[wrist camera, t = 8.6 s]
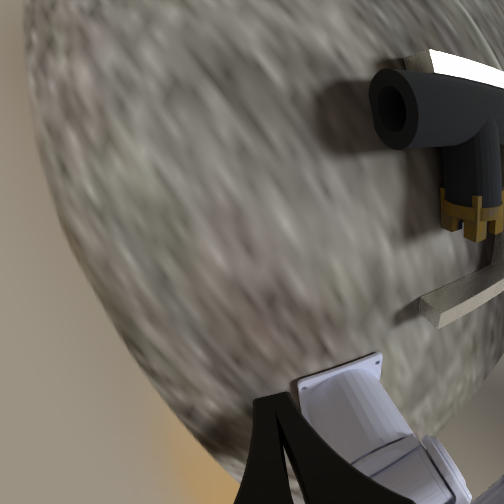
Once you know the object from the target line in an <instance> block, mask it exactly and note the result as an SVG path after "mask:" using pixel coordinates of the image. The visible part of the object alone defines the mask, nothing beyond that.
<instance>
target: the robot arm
mask: <svg viewBox="0 0 504 504" xmlns="http://www.w3.org/2000/svg"><path fill="white" fill-rule="evenodd" d="M382 357H383V356H382V354H381V353H380V352H377V353H374V354H372V355H369V356H367V357H364V358H362V359H359V360H356V361H354V362H351V363H348V364H345V365H342V366H340V367H337V368H334V369H331V370H328V371H325V372H322V373H319V374H315V375H312V376H309V377H306V378H302V379H300V380H299V381H298V382H297V387H298V394H299V400H300V407H301V412H300V411H299V409H298V408H297V406H296V404H295V403H294V401H293V399H292V398H291V396H290V393H289V392H282V393H278V394H274V395H270V396H266V397H261V398H257V399H254V400H253V430H252V437H251V444H250V450H249V455H248V459H247V464H246V468H245V472H244V475H243V479H242V482H241V485H240V488H239V491H238V493H237V496H236V499H235V501H234V504H294V503H293V499H292V496H291V491H290V486H289V480H288V474H287V468H286V461H285V455H284V449H283V446H284V448H285V451H286V454H287V456H288V459H289V461H290V464H291V466H292V469H293V471H294V474H295V476H296V478H297V481H298V483H299V486H300V489H301V491H302V494H303V498H304V501H305V504H504V475H502V476H501V477H500V478H499V479H498V480H497V481H496V482H495V483H494V484H492V486H490V487H489V488H488V489H487V490H486V491H485V492H484V493H483V494H481V495H480V496H479V497H478V498H476V499H475V500H474V501H473V502H470V501H471V499H472V496H471V494H470V492H469V490H468V489H467V487H466V482H465V480H464V478H463V476H462V474H461V473H460V471H459V469H458V468H457V466H456V465H455V463H454V462H453V460H452V459H451V457H450V456H449V454H448V453H447V451H446V450H445V448H444V447H443V445H442V444H441V442H440V441H439V440H438V439H437V437H435V436H430V437H429V436H425V437H423V438H422V439H421V441H422V442H423V444H424V446H425V447H426V449H425V448H424V446H423V445H422V443H421V442H420V441H419V439H418V438H417V437H416V436H415V434H414V433H413V432H412V430H411V429H410V427H409V426H408V424H407V423H406V421H405V420H404V418H403V417H402V415H401V414H400V412H399V411H398V409H397V407H396V406H395V404H394V403H393V401H392V400H391V398H390V397H389V395H388V394H387V392H386V391H385V389H384V388H383V386H382V385H381V384H380V382H379V380H380V373H381V365H382ZM426 450H427V451H426ZM429 455H430V456H429Z"/></svg>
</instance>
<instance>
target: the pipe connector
mask: <svg viewBox="0 0 504 504" xmlns="http://www.w3.org/2000/svg"><path fill="white" fill-rule="evenodd" d="M369 99H370V104H371V109H372V115H373V120H374V126H375V130H376V132H377V134H378V135H379V137H380V138H381V140H382V141H383V142H384V143H385V144H386V145H387V146H388V147H390V148H392V149H395V150H403V149H414V148H427V147H441V152H442V162H443V175H444V187H440V195H441V228H443V229H446V230H448V231H451V232H454V231H457V230H460V229H462V222H464V237H465V238H467V239H469V240H471V241H473V242H479V241H481V240H484V239H486V231H487V232H489V233H492V234H494V235H496V234H498V233H500V232H503V222H504V190H502V178H501V157H500V145H504V90H502V89H499V88H496V87H492V86H489V85H485V84H481V83H477V82H473V81H469V80H464V79H459V78H455V77H449V76H444V75H438V74H432V73H425V72H418V71H409V70H399V69H382V70H380V71H379V72H377V74H376V75H375V76H374V78H373V79H372V82H371V85H370V89H369Z"/></svg>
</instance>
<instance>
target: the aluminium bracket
mask: <svg viewBox="0 0 504 504" xmlns="http://www.w3.org/2000/svg"><path fill="white" fill-rule="evenodd" d="M403 60H404V64H405V67H406V70H409V71H418V72H425V73H432V74H438V75H444V76H449V77H455V78H459V79H464V80H469V81H473V82H477V83H481V84H485V85H489V86H492V87H496V88H499V89H502V90H504V72H502V71H500V70H497V69H494V68H492V67H489V66H486V65H483V64H480V63H477V62H474V61H471V60H468V59H464V58H461V57H457V56H454V55H450V54H446V53H442V52H438V51H433V50H426V51H423V52H420V53H417V54H414V55H411V56H408V57H405V58H403ZM500 157H501V178H502V190H504V145H500ZM502 291H504V222H503V232H500V233H498V234H496V235H495V238H494V247H493V255H492V262H491V264H489V265H487V266H485V267H483V268H481V269H479V270H477V271H475V272H473V273H471V274H469V275H467V276H465V277H463V278H461V279H459V280H457V281H455V282H453V283H450V284H448V285H446V286H444V287H442V288H439V289H437V290H435V291H433V292H430V293H428V294H426V295H423V296H421V297H420V302H419V310H418V312H419V313H420V314H421V315H422V316H423V317H425V318H426V319H427V320H428V321H429V322H430V323H431V324H432V325H433V326H434V327H436V328H437V329H439V328H441V327H443V326H445V325H447V324H449V323H451V322H453V321H454V320H456V319H458V318H460V317H462V316H463V315H465V314H467V313H468V312H470V311H472V310H474V309H475V308H477V307H479V306H480V305H482V304H483V303H485V302H487V301H488V300H490V299H491V298H493V297H495V296H496V295H498V294H499V293H501V292H502Z"/></svg>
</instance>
